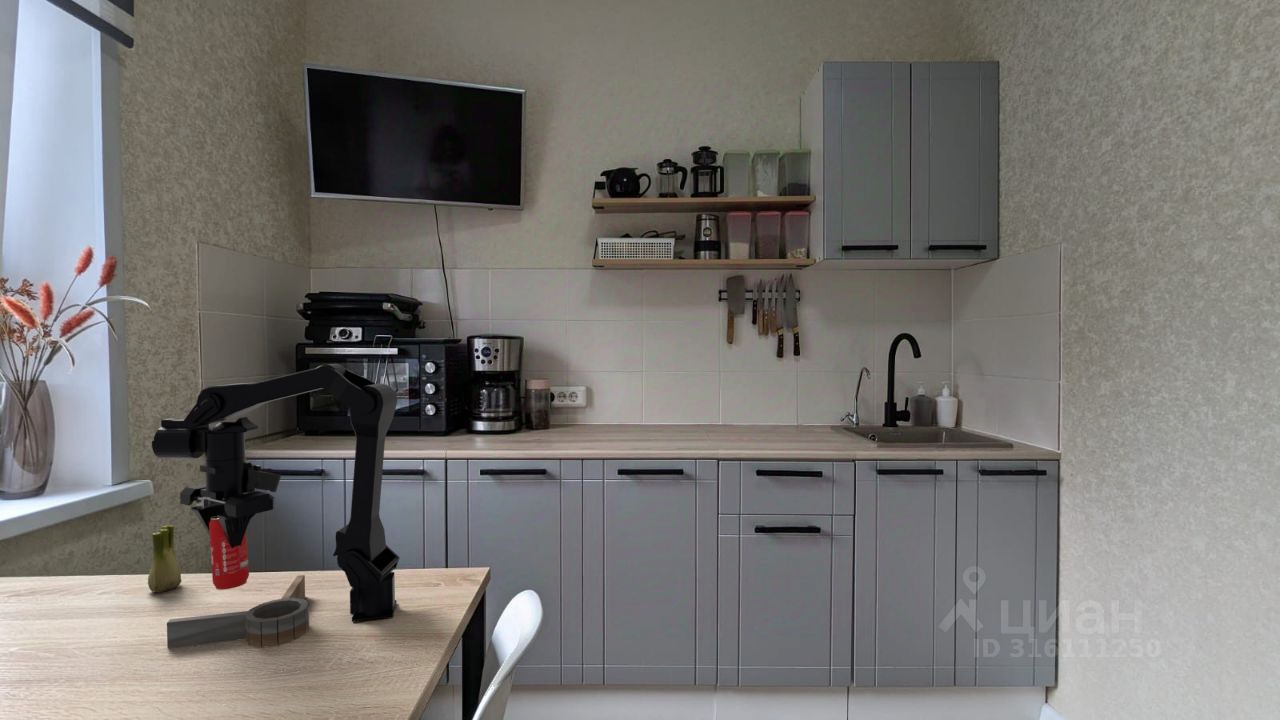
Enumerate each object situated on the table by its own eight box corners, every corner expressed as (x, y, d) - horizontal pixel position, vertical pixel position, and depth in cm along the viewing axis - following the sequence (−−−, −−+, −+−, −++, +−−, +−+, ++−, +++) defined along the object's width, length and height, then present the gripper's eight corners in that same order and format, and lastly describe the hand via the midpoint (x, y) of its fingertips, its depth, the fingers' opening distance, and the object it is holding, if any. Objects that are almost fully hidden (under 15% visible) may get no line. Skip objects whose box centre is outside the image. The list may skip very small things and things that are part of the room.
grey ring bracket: (300, 642, 97) (300, 617, 97) (155, 660, 92) (155, 633, 92) (327, 594, 116) (326, 572, 115) (208, 606, 110) (207, 584, 110)
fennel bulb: (158, 597, 115) (156, 532, 114) (138, 594, 116) (137, 530, 115) (189, 585, 120) (187, 523, 120) (170, 582, 121) (168, 521, 121)
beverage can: (230, 590, 103) (226, 518, 103) (205, 590, 104) (201, 519, 105) (256, 580, 108) (252, 511, 108) (232, 579, 109) (228, 511, 110)
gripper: (303, 455, 108) (305, 543, 109) (244, 446, 118) (246, 527, 118) (236, 466, 99) (239, 563, 99) (177, 456, 108) (179, 544, 108)
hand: (227, 548), depth 107 cm, fingers closed on beverage can, 5 cm apart
